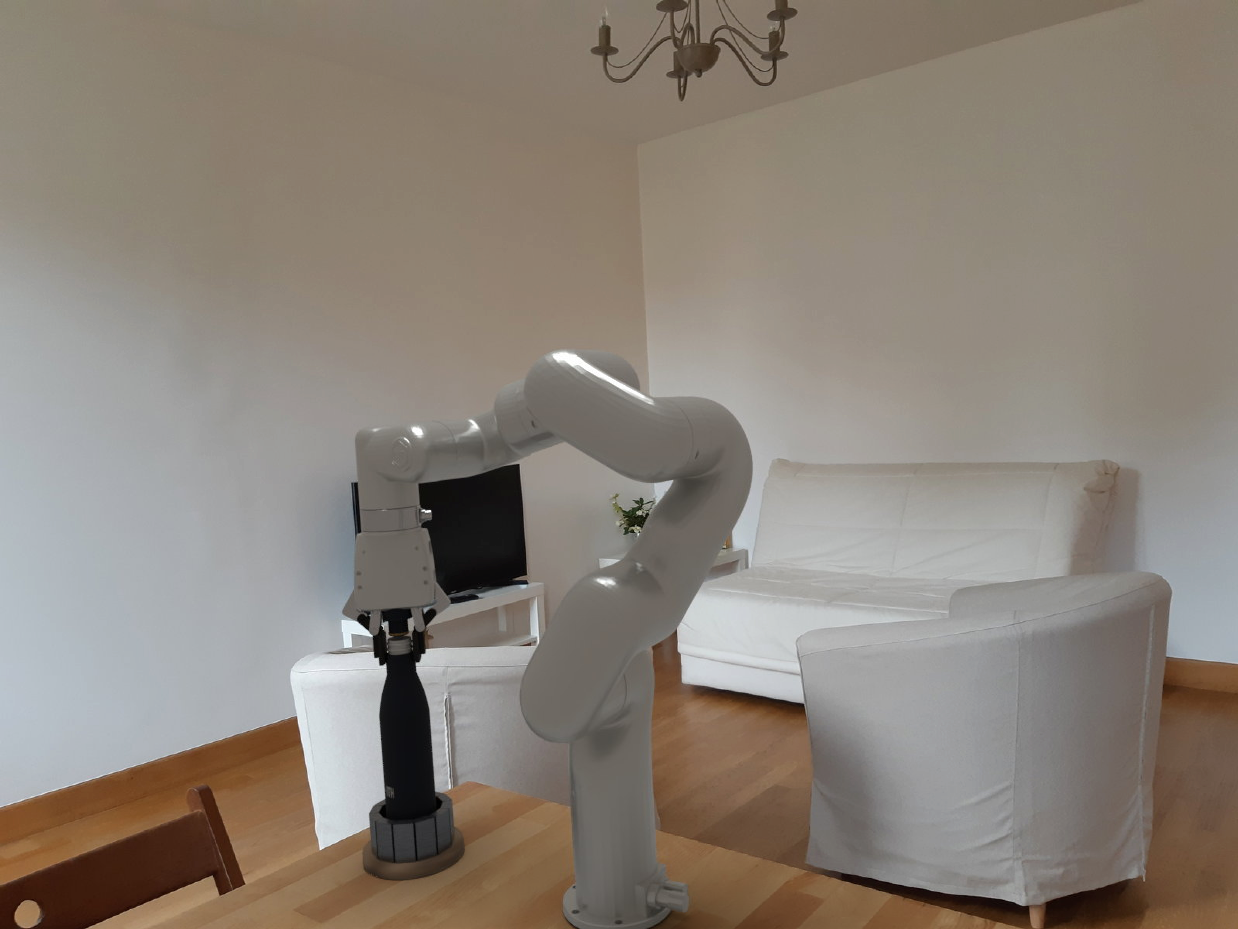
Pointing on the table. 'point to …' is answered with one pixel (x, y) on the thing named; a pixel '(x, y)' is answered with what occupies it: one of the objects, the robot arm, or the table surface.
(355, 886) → the table surface
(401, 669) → the black tall rounded piece
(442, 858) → the bottle stand
